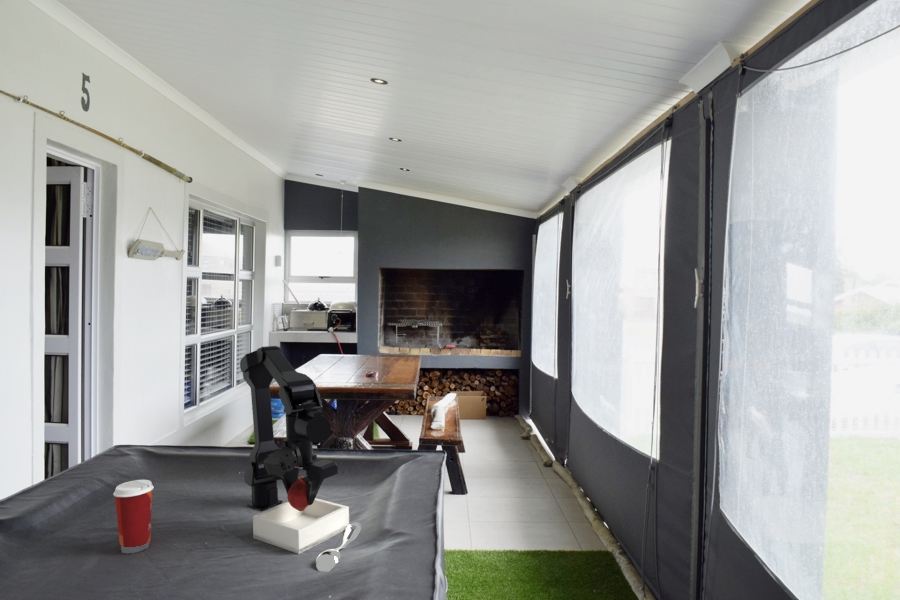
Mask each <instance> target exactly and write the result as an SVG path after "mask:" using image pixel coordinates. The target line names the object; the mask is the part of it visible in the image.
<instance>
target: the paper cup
mask: <svg viewBox="0 0 900 600" xmlns="http://www.w3.org/2000/svg"><path fill="white" fill-rule="evenodd" d="M115 487H116V488H115V490H114V492H113V494H112V495H113V496H114V499H115V508H116V518H117V528H118V537H119V538H118V539H119V546H120V545H121V546H123V547H136V546H141V545H144V544H146V543H148V542H149V541H150V542H151V533H152V510H153V509H152V508H153V507H152V505H153V504H152V503H153V501H152V499H153V490H154V488H155V487H154V485H153V483H152V481H151V480H149V479H134V480H129V481H125V482H122V483H120V484H118V485H117V486H115Z"/></svg>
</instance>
